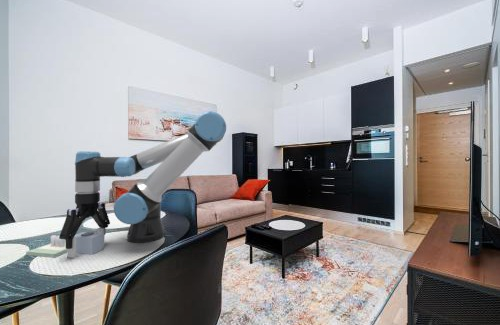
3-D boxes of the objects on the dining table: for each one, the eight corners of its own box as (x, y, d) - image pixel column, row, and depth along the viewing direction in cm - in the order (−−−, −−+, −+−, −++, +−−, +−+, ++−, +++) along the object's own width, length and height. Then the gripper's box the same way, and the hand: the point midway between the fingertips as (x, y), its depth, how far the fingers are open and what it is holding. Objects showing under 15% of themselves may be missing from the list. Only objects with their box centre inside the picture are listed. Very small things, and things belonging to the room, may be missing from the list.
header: (85, 244, 88) (85, 231, 88) (54, 257, 76) (54, 242, 76) (60, 242, 90) (60, 230, 90) (26, 255, 78) (26, 240, 78)
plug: (103, 249, 83) (103, 231, 83) (91, 254, 79) (91, 236, 79) (83, 247, 85) (83, 230, 85) (70, 252, 80) (70, 234, 80)
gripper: (104, 188, 94) (104, 238, 94) (44, 196, 71) (44, 263, 71) (120, 188, 93) (119, 239, 93) (64, 197, 69) (63, 265, 69)
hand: (87, 250), depth 82 cm, fingers open, 11 cm apart
